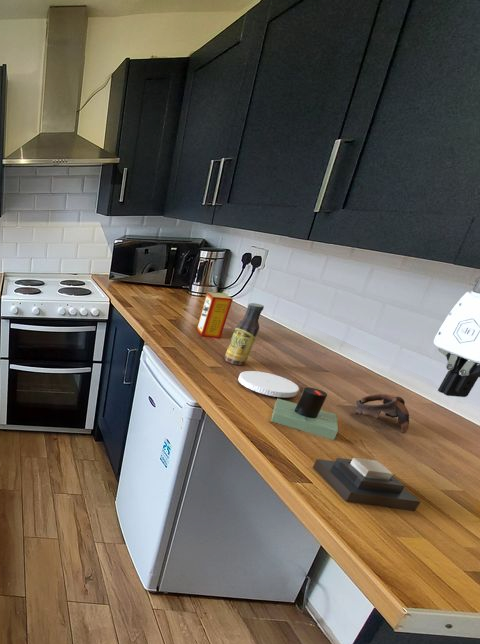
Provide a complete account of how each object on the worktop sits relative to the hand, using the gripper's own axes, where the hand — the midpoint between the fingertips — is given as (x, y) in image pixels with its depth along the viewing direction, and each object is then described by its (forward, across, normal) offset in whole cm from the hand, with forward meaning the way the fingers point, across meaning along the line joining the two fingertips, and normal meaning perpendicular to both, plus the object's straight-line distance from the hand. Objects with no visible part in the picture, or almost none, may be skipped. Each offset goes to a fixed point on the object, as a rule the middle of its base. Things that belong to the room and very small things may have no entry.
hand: (451, 394), depth 69 cm
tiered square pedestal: (+20, +2, -8) cm, 22 cm away
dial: (+17, -22, -5) cm, 29 cm away
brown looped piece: (+21, -27, +16) cm, 38 cm away
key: (+16, +3, -8) cm, 19 cm away
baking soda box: (+20, -91, -3) cm, 93 cm away
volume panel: (+20, -22, -5) cm, 30 cm away
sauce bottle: (+20, -60, -5) cm, 64 cm away
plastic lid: (+20, -41, -5) cm, 46 cm away
